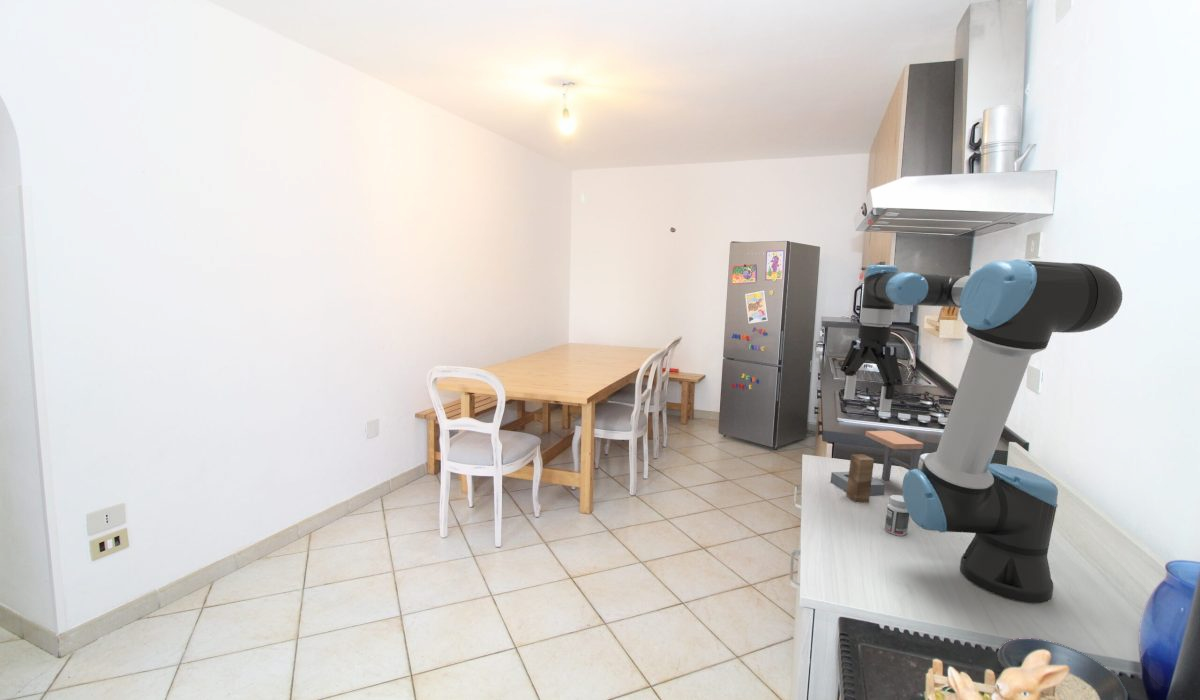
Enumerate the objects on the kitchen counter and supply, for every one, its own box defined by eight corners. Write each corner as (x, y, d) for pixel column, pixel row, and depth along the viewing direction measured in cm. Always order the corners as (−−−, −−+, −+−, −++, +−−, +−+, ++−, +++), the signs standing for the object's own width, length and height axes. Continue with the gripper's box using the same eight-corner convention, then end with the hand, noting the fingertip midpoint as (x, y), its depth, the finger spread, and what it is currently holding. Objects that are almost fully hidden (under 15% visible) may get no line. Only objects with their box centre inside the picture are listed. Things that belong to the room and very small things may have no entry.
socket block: (884, 494, 153) (885, 484, 152) (852, 496, 151) (853, 485, 150) (860, 480, 162) (861, 471, 162) (830, 481, 160) (831, 472, 160)
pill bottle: (909, 531, 131) (913, 498, 129) (903, 538, 127) (908, 504, 126) (887, 524, 134) (892, 492, 133) (881, 530, 130) (886, 497, 129)
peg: (868, 502, 147) (874, 459, 145) (855, 502, 146) (860, 459, 144) (858, 495, 151) (864, 454, 149) (846, 496, 150) (851, 454, 148)
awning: (916, 494, 154) (923, 443, 151) (888, 496, 152) (895, 444, 149) (886, 478, 165) (892, 430, 163) (859, 479, 163) (865, 431, 161)
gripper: (925, 330, 131) (914, 417, 134) (855, 321, 155) (847, 394, 158) (899, 330, 129) (888, 417, 132) (832, 320, 153) (824, 394, 156)
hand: (866, 405), depth 145 cm, fingers open, 13 cm apart
